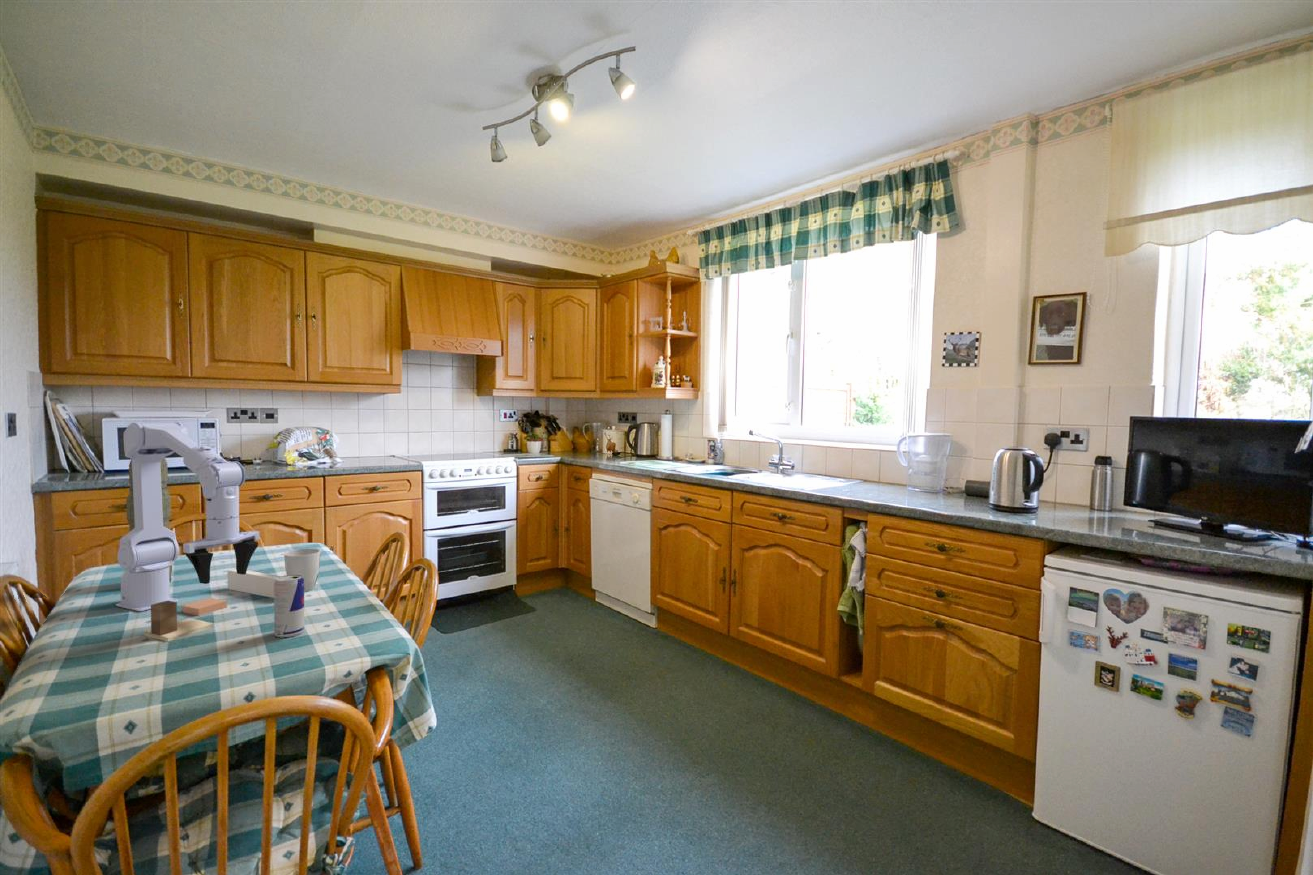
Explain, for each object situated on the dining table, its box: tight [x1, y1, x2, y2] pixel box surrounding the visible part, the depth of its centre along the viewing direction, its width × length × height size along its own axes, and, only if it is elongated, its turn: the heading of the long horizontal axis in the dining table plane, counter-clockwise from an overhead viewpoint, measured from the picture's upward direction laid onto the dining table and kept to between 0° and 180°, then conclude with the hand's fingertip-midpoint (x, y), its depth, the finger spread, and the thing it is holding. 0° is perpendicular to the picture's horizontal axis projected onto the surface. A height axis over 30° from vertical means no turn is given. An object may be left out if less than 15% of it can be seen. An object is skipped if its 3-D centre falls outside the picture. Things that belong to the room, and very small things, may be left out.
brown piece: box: [143, 601, 215, 642], centre depth 119 cm, size 8×8×7 cm
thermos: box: [126, 456, 173, 583], centre depth 150 cm, size 9×12×35 cm
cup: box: [283, 547, 321, 593], centre depth 148 cm, size 8×8×10 cm
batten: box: [226, 567, 281, 599], centre depth 144 cm, size 22×2×5 cm, turn 70°
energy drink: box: [273, 574, 305, 639], centre depth 119 cm, size 5×5×12 cm
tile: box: [181, 597, 228, 617], centre depth 132 cm, size 6×6×2 cm
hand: (223, 578), depth 124 cm, fingers open, 7 cm apart
